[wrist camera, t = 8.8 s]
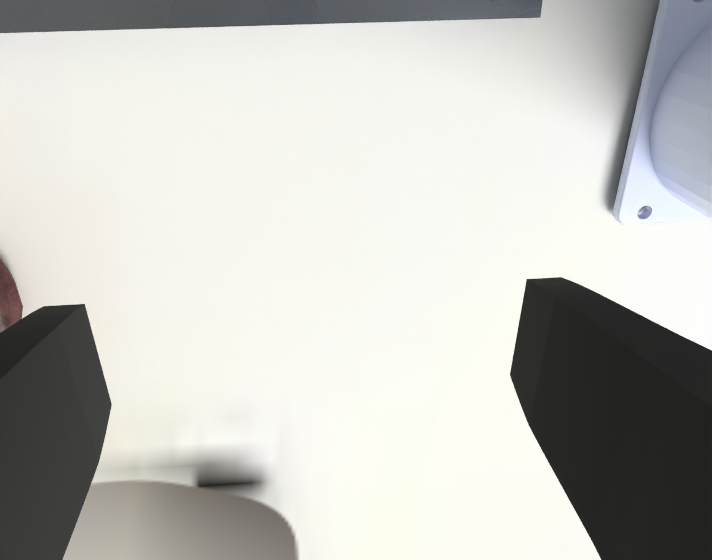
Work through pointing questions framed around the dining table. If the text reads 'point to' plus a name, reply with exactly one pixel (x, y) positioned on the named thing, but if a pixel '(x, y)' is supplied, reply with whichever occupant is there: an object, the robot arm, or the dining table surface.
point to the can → (8, 299)
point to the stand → (242, 13)
